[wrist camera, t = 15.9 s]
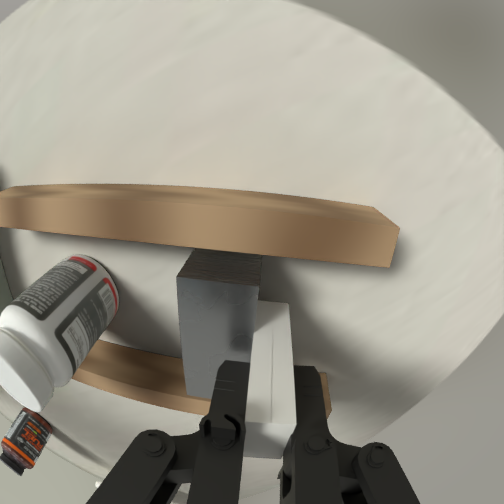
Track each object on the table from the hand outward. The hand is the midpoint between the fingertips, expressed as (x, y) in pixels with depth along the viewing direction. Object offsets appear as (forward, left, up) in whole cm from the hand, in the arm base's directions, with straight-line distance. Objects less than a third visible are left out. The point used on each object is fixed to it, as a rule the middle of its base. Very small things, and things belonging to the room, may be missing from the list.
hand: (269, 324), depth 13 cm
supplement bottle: (-31, -28, -1) cm, 42 cm away
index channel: (-6, 0, -1) cm, 7 cm away
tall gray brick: (-2, 0, -1) cm, 3 cm away
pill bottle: (-11, 0, -1) cm, 11 cm away
